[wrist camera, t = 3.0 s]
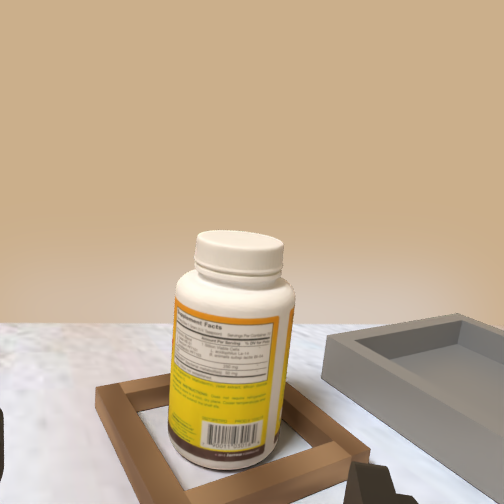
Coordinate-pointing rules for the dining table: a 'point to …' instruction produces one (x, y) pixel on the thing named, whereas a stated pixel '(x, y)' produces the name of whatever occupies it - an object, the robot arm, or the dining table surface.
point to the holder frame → (238, 485)
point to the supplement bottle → (230, 350)
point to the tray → (431, 389)
